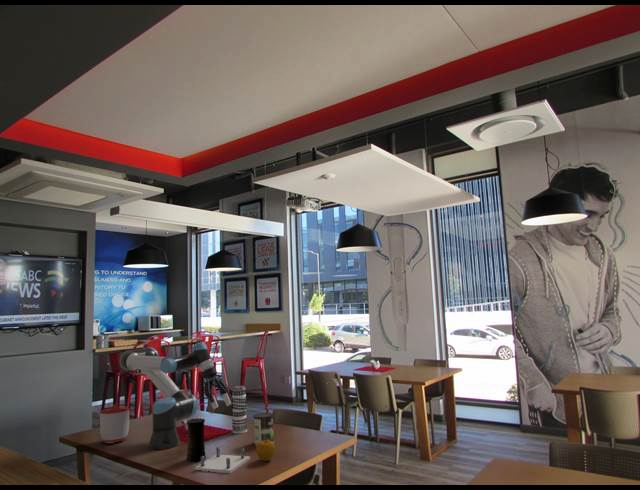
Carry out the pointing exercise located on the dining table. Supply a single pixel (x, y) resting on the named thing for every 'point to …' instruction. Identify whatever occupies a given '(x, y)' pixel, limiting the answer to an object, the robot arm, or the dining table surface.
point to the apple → (265, 450)
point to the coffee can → (263, 427)
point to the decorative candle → (239, 409)
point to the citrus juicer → (114, 424)
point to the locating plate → (222, 462)
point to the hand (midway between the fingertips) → (222, 406)
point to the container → (195, 440)
